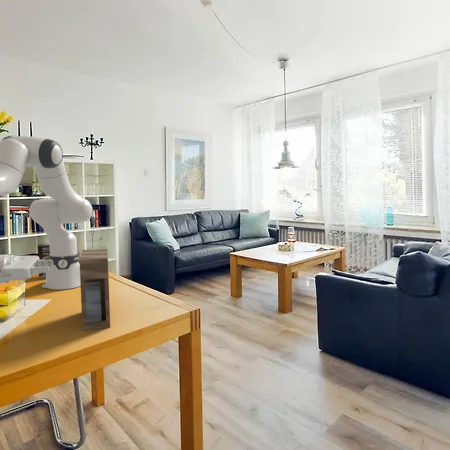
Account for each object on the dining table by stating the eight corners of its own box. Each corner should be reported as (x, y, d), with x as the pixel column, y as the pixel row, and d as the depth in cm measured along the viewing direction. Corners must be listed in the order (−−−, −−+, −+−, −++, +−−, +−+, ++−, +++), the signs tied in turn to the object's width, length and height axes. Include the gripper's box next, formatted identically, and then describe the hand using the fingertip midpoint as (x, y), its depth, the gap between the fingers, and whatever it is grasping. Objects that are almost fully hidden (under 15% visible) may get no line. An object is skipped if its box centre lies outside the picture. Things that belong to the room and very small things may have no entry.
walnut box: (85, 311, 130) (82, 249, 127) (109, 308, 132) (107, 248, 130) (82, 330, 112) (79, 260, 110) (110, 327, 115) (107, 258, 112)
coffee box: (38, 279, 174) (36, 245, 172) (39, 276, 179) (37, 243, 178) (59, 277, 177) (57, 244, 175) (59, 274, 183) (58, 242, 181)
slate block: (86, 317, 124) (84, 283, 122) (101, 315, 125) (100, 281, 124) (85, 322, 119) (83, 287, 118) (101, 320, 120) (100, 285, 119)
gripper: (-10, 265, 101) (45, 262, 106) (8, 253, 121) (54, 251, 125) (-8, 287, 102) (46, 283, 106) (9, 272, 121) (55, 269, 126)
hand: (50, 265), depth 116 cm, fingers open, 8 cm apart
